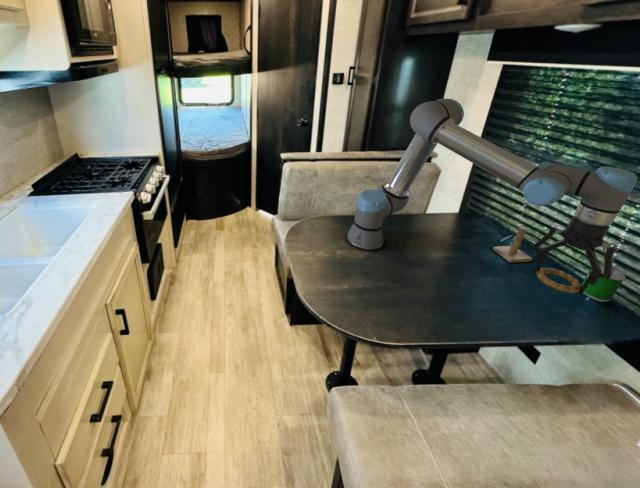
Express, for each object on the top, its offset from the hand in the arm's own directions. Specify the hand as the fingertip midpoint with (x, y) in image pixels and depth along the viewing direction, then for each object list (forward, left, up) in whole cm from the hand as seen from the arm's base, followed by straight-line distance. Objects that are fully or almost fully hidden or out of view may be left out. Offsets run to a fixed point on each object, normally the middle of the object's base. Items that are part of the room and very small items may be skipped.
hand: (558, 280), depth 99 cm
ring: (0, 0, 0) cm, 0 cm away
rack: (-29, +15, -13) cm, 35 cm away
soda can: (-5, +24, -13) cm, 28 cm away
